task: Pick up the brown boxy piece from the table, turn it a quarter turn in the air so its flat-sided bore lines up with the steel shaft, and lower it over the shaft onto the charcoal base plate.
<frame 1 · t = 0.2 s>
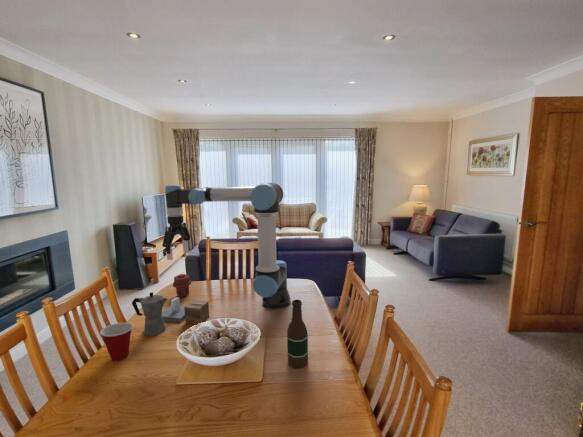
hand: (178, 255, 151), 27 cm above the table, tool pointing down, fingers open, 13 cm apart
coffeepot: (152, 330, 130), on the table
beer bottle: (297, 362, 107), on the table
shaft stand: (176, 315, 144), on the table
brown boxy piece: (197, 319, 139), on the table
mechanical component: (183, 295, 168), on the table
plastic cup: (120, 356, 112), on the table
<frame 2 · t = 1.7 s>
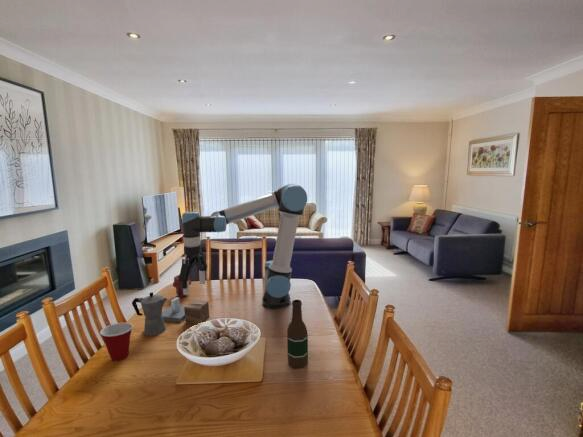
hand: (194, 288, 137), 16 cm above the table, tool pointing down, fingers open, 13 cm apart
nothing on the table moved.
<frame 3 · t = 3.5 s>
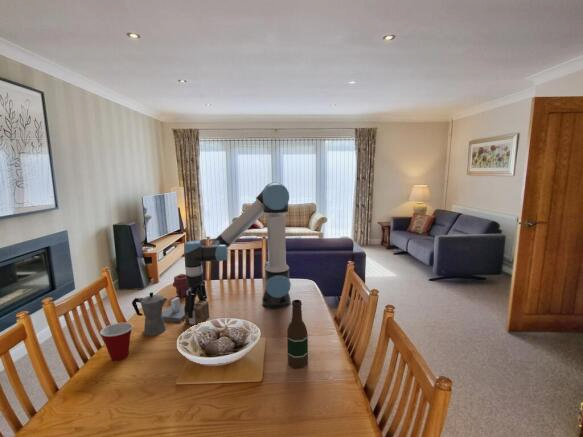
hand: (197, 319, 139), 0 cm above the table, tool pointing down, fingers closed on brown boxy piece, 8 cm apart
brown boxy piece: (197, 319, 139), on the table, touching gripper
everything else where it was.
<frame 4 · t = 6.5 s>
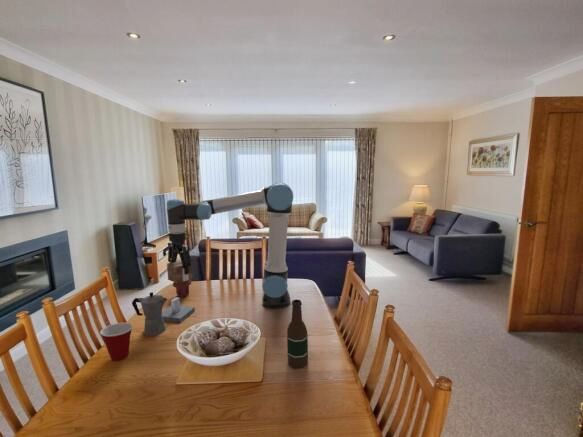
hand: (180, 278, 139), 20 cm above the table, tool pointing down, fingers closed on brown boxy piece, 8 cm apart
brown boxy piece: (180, 279, 139), point 20 cm above the table, touching gripper
everything else where it was.
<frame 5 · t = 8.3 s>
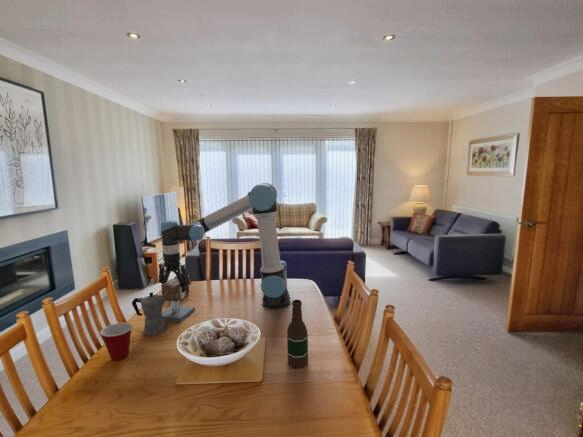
hand: (174, 297, 143), 9 cm above the table, tool pointing down, fingers closed on brown boxy piece, 8 cm apart
brown boxy piece: (174, 297, 143), point 9 cm above the table, touching gripper
everything else where it was.
when the fingers open (4 cm above the table, at t = 9.8 s): brown boxy piece drops 2 cm, resting on shaft stand.
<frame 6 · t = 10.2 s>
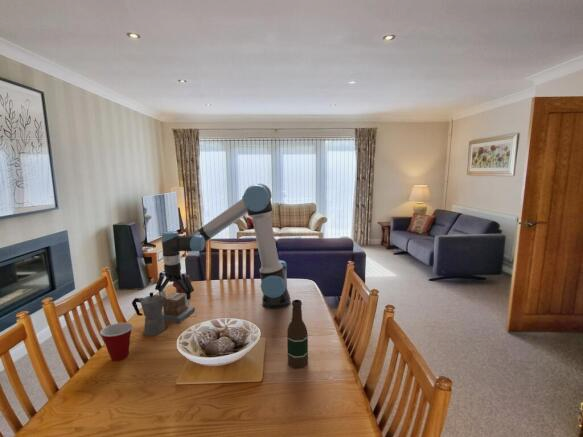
hand: (175, 304, 144), 6 cm above the table, tool pointing down, fingers open, 13 cm apart
brown boxy piece: (176, 311, 144), point 2 cm above the table, touching shaft stand
everything else where it was.
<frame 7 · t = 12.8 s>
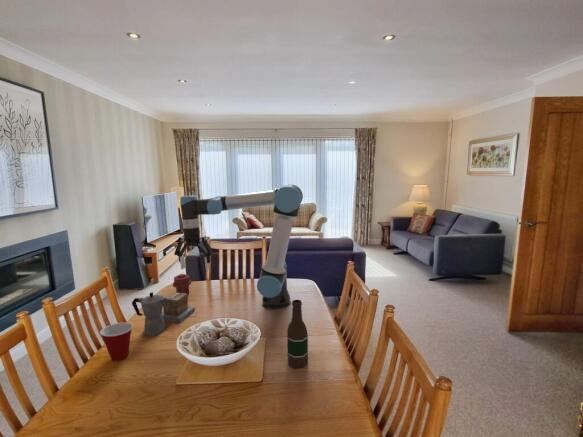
hand: (195, 268, 145), 22 cm above the table, tool pointing down, fingers open, 13 cm apart
nothing on the table moved.
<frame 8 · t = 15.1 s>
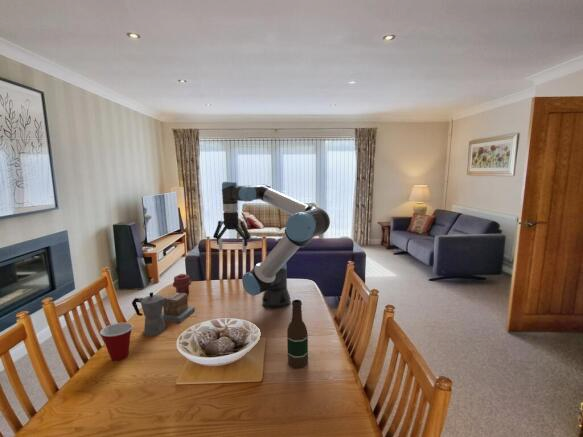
hand: (232, 251, 153), 29 cm above the table, tool pointing down, fingers open, 13 cm apart
nothing on the table moved.
at the end: brown boxy piece 0.0 cm off-centre on the shaft stand, point 2.0 cm above the shaft stand's base; brown boxy piece tilted 0°; the gripper is holding nothing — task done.
